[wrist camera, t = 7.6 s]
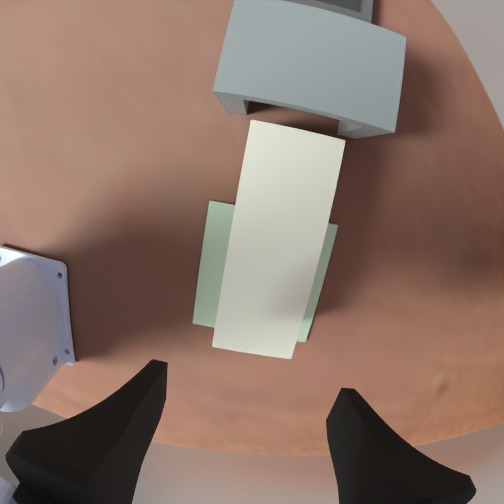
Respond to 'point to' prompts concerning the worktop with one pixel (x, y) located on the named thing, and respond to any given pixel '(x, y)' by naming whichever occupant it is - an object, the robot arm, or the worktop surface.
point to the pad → (215, 264)
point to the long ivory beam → (276, 237)
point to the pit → (343, 7)
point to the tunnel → (312, 65)
